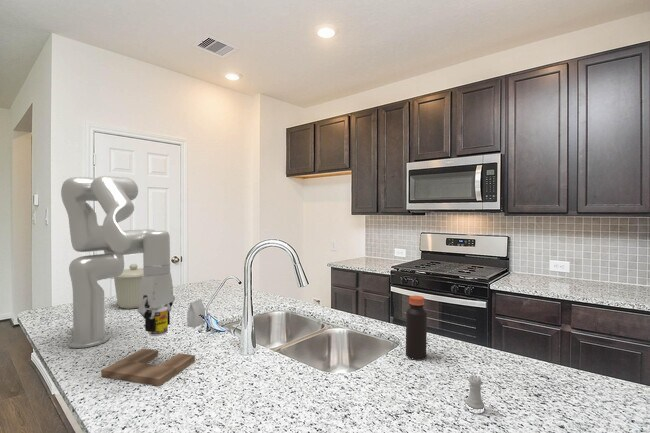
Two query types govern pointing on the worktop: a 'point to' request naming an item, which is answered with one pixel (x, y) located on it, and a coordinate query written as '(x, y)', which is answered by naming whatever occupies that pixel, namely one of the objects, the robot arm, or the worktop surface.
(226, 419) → the worktop surface
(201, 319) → the tea bag
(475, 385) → the rook chess piece
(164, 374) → the notched board
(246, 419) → the worktop surface
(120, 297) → the canister
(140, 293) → the robot arm
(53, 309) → the worktop surface
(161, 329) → the supplement bottle
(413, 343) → the vinegar
